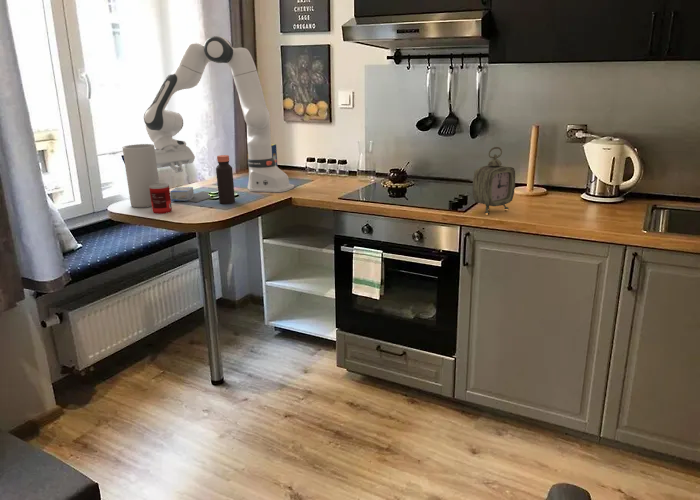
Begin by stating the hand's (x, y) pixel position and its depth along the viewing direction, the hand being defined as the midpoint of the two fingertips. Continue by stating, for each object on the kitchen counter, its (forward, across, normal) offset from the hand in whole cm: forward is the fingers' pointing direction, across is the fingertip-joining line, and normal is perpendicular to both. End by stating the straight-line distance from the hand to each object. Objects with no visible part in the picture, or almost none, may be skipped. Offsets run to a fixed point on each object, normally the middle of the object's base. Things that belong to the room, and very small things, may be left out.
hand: (179, 171), depth 258 cm
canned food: (+24, -21, -8) cm, 33 cm away
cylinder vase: (+12, -20, +4) cm, 23 cm away
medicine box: (+10, -2, +2) cm, 10 cm away
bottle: (+28, +5, -13) cm, 32 cm away
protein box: (0, +54, +16) cm, 57 cm away
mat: (+15, +3, 0) cm, 15 cm away
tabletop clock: (+95, +64, -79) cm, 139 cm away
